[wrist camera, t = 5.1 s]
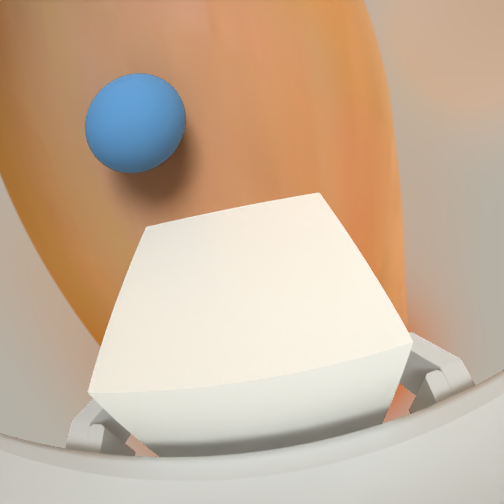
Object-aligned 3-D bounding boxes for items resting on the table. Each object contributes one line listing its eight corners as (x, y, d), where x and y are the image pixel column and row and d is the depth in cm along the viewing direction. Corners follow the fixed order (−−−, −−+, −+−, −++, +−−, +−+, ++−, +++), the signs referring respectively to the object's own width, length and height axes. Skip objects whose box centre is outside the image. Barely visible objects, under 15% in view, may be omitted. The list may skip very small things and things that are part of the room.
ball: (98, 90, 14) (55, 98, 10) (181, 63, 14) (162, 57, 10) (119, 167, 17) (87, 199, 12) (199, 146, 16) (189, 172, 12)
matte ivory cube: (146, 226, 12) (87, 392, 6) (319, 192, 12) (413, 341, 5) (194, 341, 16) (189, 478, 9) (325, 317, 16) (368, 450, 9)
